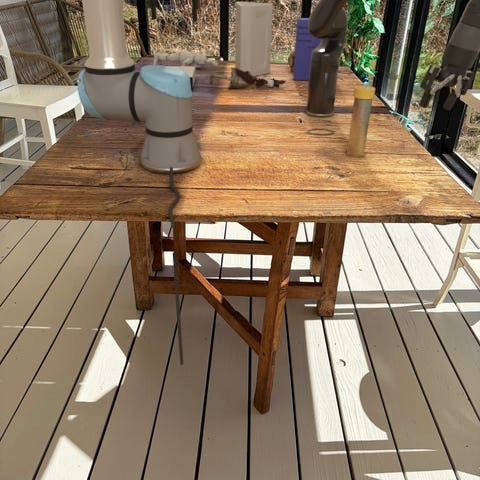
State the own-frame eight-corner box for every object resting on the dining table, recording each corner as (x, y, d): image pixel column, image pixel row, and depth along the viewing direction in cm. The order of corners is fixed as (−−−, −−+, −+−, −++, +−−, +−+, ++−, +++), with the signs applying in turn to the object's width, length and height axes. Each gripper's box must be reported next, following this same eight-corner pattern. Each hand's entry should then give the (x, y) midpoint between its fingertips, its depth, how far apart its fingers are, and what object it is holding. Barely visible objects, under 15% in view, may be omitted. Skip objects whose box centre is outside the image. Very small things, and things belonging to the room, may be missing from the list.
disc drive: (147, 90, 186) (146, 77, 184) (155, 77, 206) (154, 65, 203) (192, 90, 187) (192, 77, 184) (196, 77, 206) (195, 65, 204)
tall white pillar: (273, 76, 210) (276, 6, 196) (239, 77, 209) (240, 6, 194) (266, 67, 226) (268, 2, 212) (235, 67, 225) (235, 1, 210)
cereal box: (333, 78, 208) (339, 18, 196) (334, 81, 204) (341, 19, 192) (293, 77, 209) (297, 17, 197) (293, 79, 205) (297, 18, 193)
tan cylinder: (357, 158, 128) (367, 92, 119) (343, 153, 131) (352, 89, 122) (367, 154, 131) (377, 90, 122) (353, 149, 133) (362, 86, 125)
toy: (173, 75, 210) (172, 58, 207) (149, 64, 228) (148, 49, 224) (220, 69, 222) (220, 53, 218) (194, 59, 239) (193, 45, 236)
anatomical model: (297, 75, 231) (295, 75, 217) (284, 62, 230) (281, 61, 216) (315, 54, 226) (315, 52, 212) (302, 41, 225) (301, 38, 211)
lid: (366, 100, 120) (367, 91, 118) (349, 96, 123) (350, 87, 122) (378, 97, 123) (379, 88, 121) (360, 93, 126) (362, 84, 125)
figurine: (210, 87, 179) (288, 95, 182) (212, 65, 176) (291, 73, 180) (208, 84, 201) (278, 91, 205) (210, 64, 198) (280, 71, 202)
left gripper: (214, -58, 143) (215, 20, 153) (135, -59, 146) (141, 17, 157) (207, -58, 136) (209, 23, 147) (125, -59, 140) (133, 20, 151)
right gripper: (473, 44, 122) (444, 104, 131) (433, 36, 116) (405, 100, 125) (495, 53, 117) (463, 115, 126) (454, 46, 111) (424, 112, 120)
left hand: (174, 20), depth 152 cm, fingers open, 13 cm apart
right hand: (434, 108), depth 126 cm, fingers open, 8 cm apart
